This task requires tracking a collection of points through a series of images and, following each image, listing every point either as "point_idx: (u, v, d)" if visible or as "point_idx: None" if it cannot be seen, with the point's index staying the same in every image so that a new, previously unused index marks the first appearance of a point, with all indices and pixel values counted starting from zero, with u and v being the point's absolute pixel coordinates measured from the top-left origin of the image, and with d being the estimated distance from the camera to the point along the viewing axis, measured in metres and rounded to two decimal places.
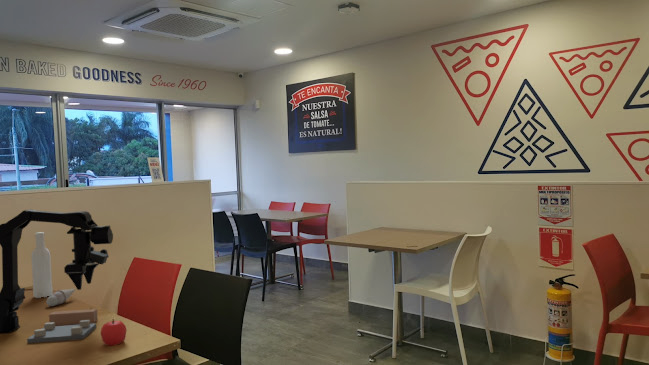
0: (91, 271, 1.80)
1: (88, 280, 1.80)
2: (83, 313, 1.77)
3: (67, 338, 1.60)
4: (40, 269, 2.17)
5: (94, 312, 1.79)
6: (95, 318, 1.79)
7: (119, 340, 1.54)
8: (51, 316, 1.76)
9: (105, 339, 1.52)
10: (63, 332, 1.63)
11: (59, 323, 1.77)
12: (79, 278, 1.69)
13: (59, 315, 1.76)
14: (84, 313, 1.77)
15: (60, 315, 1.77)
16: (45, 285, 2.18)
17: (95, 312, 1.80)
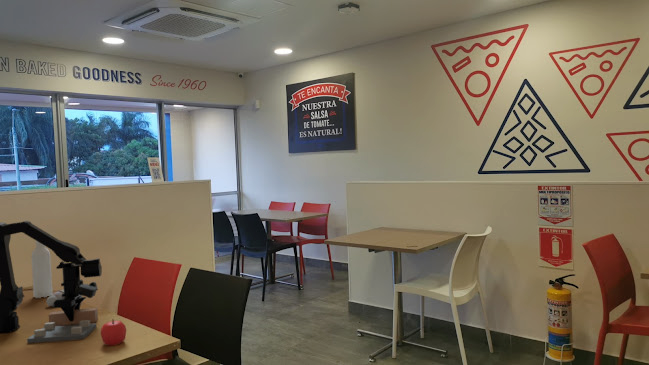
0: (78, 305, 1.81)
1: None
2: (84, 312, 1.78)
3: (67, 338, 1.60)
4: (40, 269, 2.17)
5: (95, 311, 1.80)
6: (96, 317, 1.80)
7: (119, 340, 1.54)
8: (51, 316, 1.75)
9: (105, 339, 1.52)
10: (63, 332, 1.63)
11: (59, 323, 1.76)
12: (71, 310, 1.75)
13: (59, 314, 1.76)
14: (85, 312, 1.78)
15: (60, 315, 1.76)
16: (45, 285, 2.18)
17: (96, 311, 1.81)
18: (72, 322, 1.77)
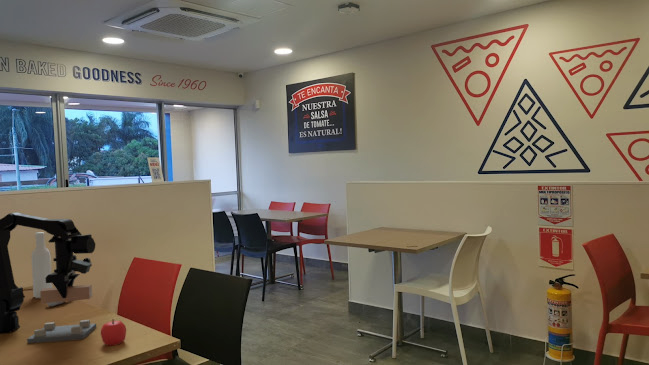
0: (71, 282, 1.73)
1: None
2: (78, 289, 1.70)
3: (67, 338, 1.60)
4: (40, 269, 2.17)
5: (89, 287, 1.72)
6: (90, 294, 1.72)
7: (119, 340, 1.54)
8: (43, 292, 1.67)
9: (105, 339, 1.52)
10: (63, 332, 1.63)
11: (51, 300, 1.68)
12: (64, 286, 1.67)
13: (51, 291, 1.68)
14: (79, 288, 1.70)
15: (52, 291, 1.68)
16: (45, 285, 2.18)
17: (90, 287, 1.73)
18: (65, 299, 1.69)
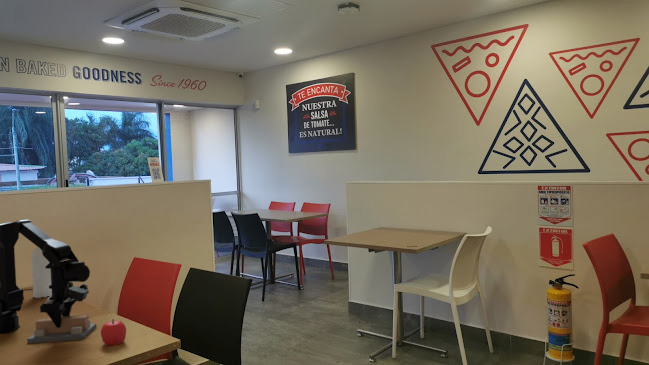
0: (69, 308, 1.68)
1: None
2: (74, 320, 1.64)
3: (67, 338, 1.60)
4: (40, 269, 2.17)
5: (86, 318, 1.66)
6: (87, 325, 1.66)
7: (119, 340, 1.54)
8: (38, 323, 1.62)
9: (105, 339, 1.52)
10: (63, 332, 1.63)
11: (47, 331, 1.63)
12: (58, 316, 1.61)
13: (46, 322, 1.62)
14: (75, 319, 1.64)
15: (48, 322, 1.63)
16: (45, 285, 2.18)
17: (87, 318, 1.67)
18: (61, 330, 1.63)
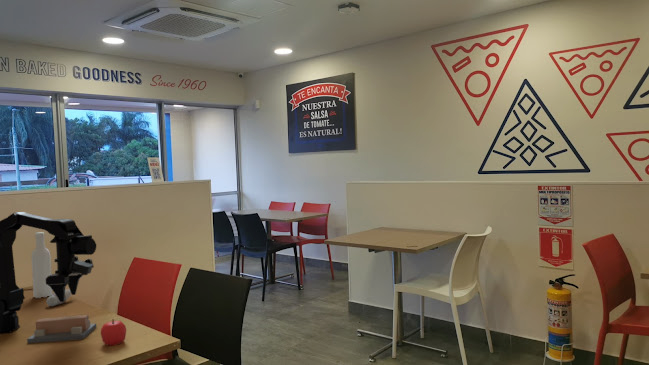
0: (76, 282, 1.73)
1: (73, 291, 1.72)
2: (74, 320, 1.64)
3: (67, 338, 1.60)
4: (40, 269, 2.17)
5: (86, 318, 1.66)
6: (87, 325, 1.66)
7: (119, 340, 1.54)
8: (38, 323, 1.62)
9: (105, 339, 1.52)
10: (63, 332, 1.63)
11: (47, 331, 1.63)
12: (62, 290, 1.62)
13: (46, 322, 1.62)
14: (75, 319, 1.64)
15: (48, 322, 1.63)
16: (45, 285, 2.18)
17: (87, 318, 1.67)
18: (61, 330, 1.63)
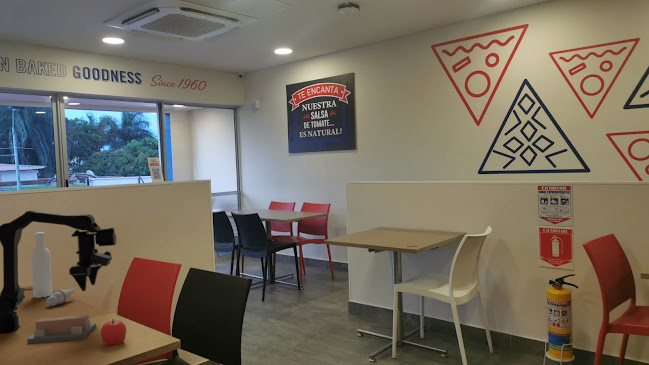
0: (95, 273, 1.84)
1: (92, 282, 1.83)
2: (74, 320, 1.64)
3: (67, 338, 1.60)
4: (40, 269, 2.17)
5: (86, 318, 1.66)
6: (87, 325, 1.66)
7: (119, 340, 1.54)
8: (38, 323, 1.62)
9: (105, 339, 1.52)
10: (63, 332, 1.63)
11: (47, 331, 1.63)
12: (84, 280, 1.73)
13: (46, 322, 1.62)
14: (75, 319, 1.64)
15: (48, 322, 1.63)
16: (45, 285, 2.18)
17: (87, 318, 1.67)
18: (61, 330, 1.63)
